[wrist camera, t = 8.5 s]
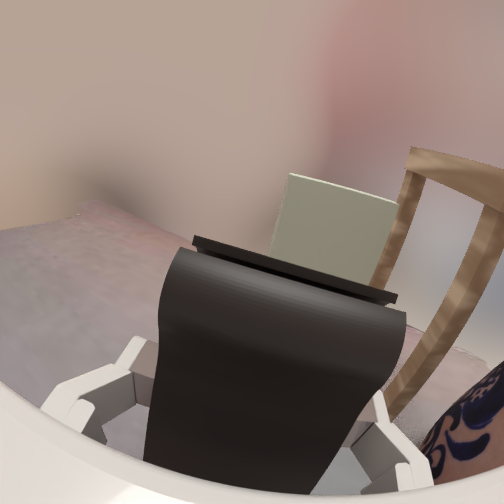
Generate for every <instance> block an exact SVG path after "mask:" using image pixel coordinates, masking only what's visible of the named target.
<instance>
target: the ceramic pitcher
mask: <svg viewBox="0 0 504 504" xmlns="http://www.w3.org/2000/svg"><path fill="white" fill-rule="evenodd" d="M419 451H420V452H421V453H422V454H423V455H424V456H425V457H426V458H427V459H428V461H429V465H430V469H431V473H432V478H433V482H434V485H439V484H443V483H448V482H452V481H456V480H460V479H463V478H467V477H470V476H474V475H477V474H480V473H483V472H486V471H489V470H492V469H495V468H498V467H500V466H503V465H504V361H503V362H501V364H499V365H498V366H497V367H495V368H494V369H493V370H492V371H491V372H490V373H488V374H487V375H486V376H485V377H484V378H483V379H482V380H480V381H479V382H478V383H477V384H475V385H474V386H473V387H472V388H471V389H469V390H468V391H467V392H466V393H465V394H464V395H462V396H461V397H460V398H459V399H458V400H457V401H456V402H455V403H454V404H453V405H452V406H451V407H450V408H449V409H448V410H447V411H446V412H445V413H444V414H443V415H442V416H441V417H440V418H439V420H438V421H437V422H436V423H435V424H434V426H433V427H432V429H431V430H430V431H429V433H428V434H427V436H426V438H425V439H424V441H423V442H422V444H421V446H420V448H419Z"/></svg>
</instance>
